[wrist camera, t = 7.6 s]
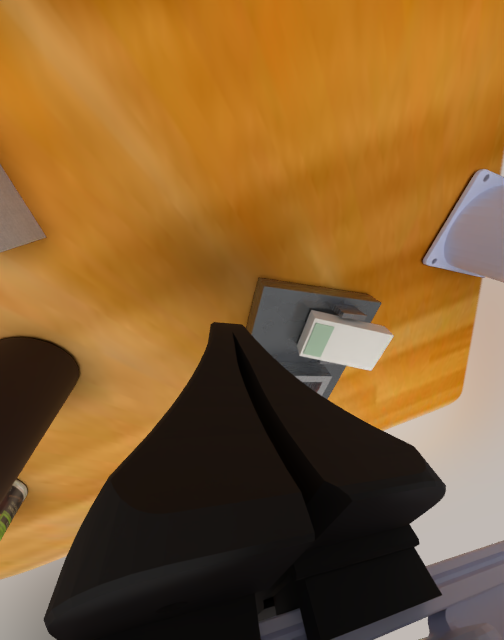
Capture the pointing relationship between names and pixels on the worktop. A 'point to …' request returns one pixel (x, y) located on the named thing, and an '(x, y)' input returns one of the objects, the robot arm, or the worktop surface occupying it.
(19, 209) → the grey milk carton
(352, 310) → the panel
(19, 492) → the coffee can
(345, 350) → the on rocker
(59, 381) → the vinegar
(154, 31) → the worktop surface
